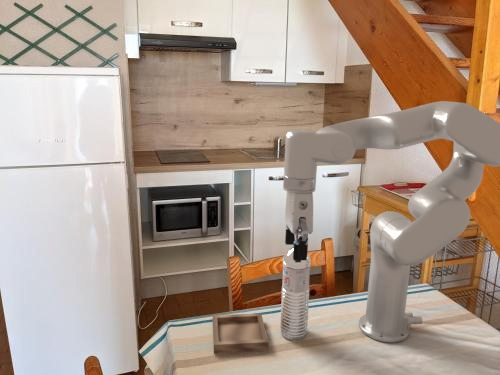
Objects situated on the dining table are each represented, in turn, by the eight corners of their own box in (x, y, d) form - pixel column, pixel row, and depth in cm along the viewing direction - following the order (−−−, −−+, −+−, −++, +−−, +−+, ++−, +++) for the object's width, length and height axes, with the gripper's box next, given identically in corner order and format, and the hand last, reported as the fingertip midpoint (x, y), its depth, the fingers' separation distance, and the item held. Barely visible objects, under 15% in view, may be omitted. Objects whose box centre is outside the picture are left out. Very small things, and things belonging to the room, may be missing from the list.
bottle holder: (261, 321, 116) (261, 313, 115) (268, 350, 103) (268, 342, 103) (212, 323, 114) (212, 315, 114) (213, 353, 102) (213, 344, 101)
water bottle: (305, 343, 106) (310, 248, 100) (278, 339, 108) (281, 245, 101) (307, 327, 113) (312, 238, 107) (282, 324, 114) (285, 235, 108)
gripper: (325, 193, 93) (319, 266, 97) (306, 175, 109) (302, 238, 113) (291, 192, 92) (287, 267, 96) (277, 175, 108) (274, 239, 113)
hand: (295, 251), depth 105 cm, fingers open, 9 cm apart
